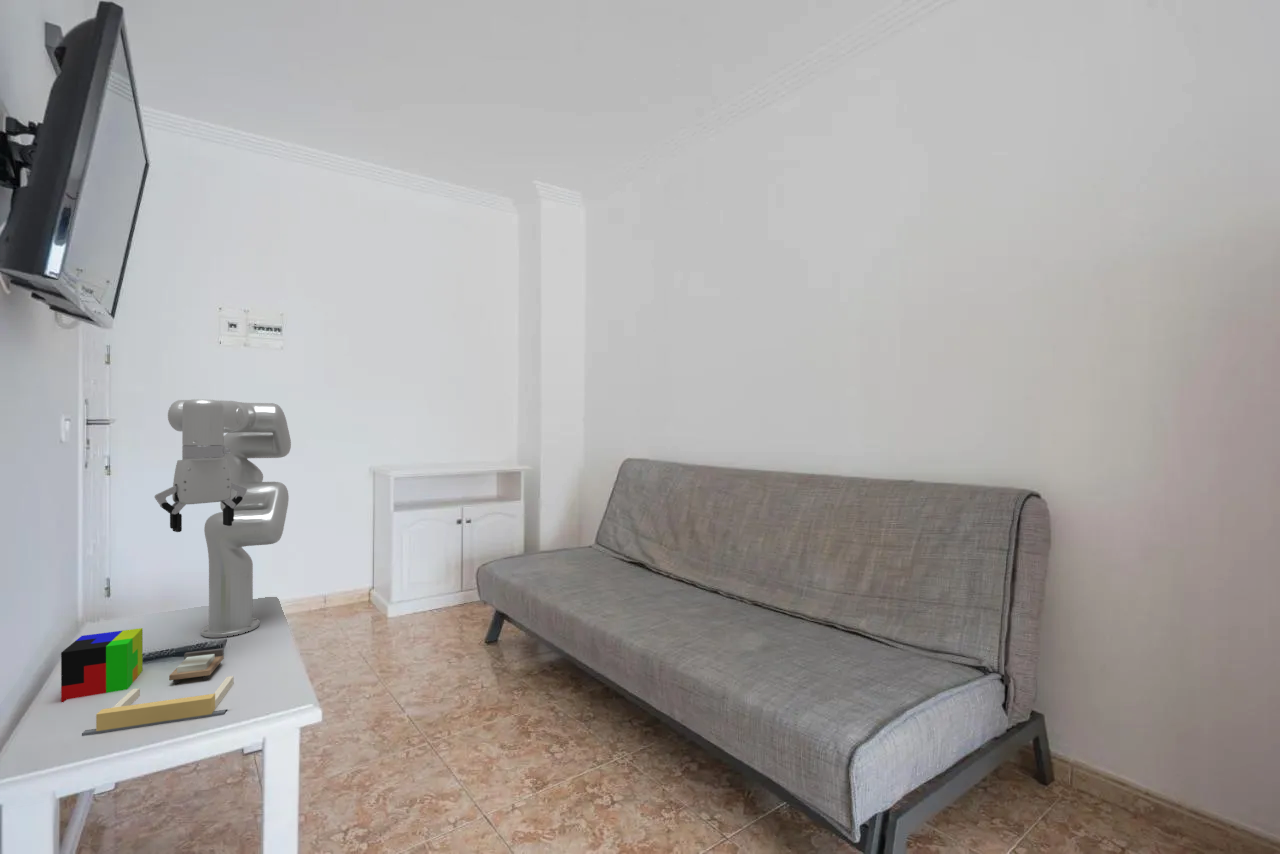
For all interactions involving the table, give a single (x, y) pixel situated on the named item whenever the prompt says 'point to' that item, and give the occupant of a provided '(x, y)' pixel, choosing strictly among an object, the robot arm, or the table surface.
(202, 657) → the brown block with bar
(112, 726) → the mat
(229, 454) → the robot arm
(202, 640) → the table surface
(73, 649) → the puzzle toy
